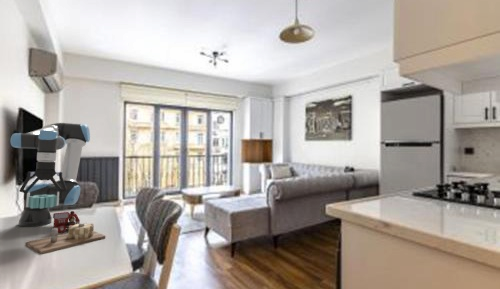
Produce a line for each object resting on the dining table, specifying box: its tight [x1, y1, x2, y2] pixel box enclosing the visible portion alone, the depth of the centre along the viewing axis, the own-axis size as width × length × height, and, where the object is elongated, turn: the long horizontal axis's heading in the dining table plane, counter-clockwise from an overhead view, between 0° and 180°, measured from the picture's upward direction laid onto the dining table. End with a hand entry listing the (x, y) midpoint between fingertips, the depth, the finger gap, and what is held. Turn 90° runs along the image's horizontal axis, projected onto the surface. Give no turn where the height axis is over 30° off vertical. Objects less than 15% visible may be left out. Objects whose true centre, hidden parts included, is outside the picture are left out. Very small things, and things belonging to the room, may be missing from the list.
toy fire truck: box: [52, 210, 81, 234], centre depth 148 cm, size 7×12×10 cm, turn 135°
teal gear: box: [28, 195, 57, 209], centre depth 133 cm, size 11×11×5 cm
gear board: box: [25, 222, 106, 255], centre depth 133 cm, size 17×28×7 cm, turn 147°
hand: (42, 205), depth 133 cm, fingers closed on teal gear, 11 cm apart
